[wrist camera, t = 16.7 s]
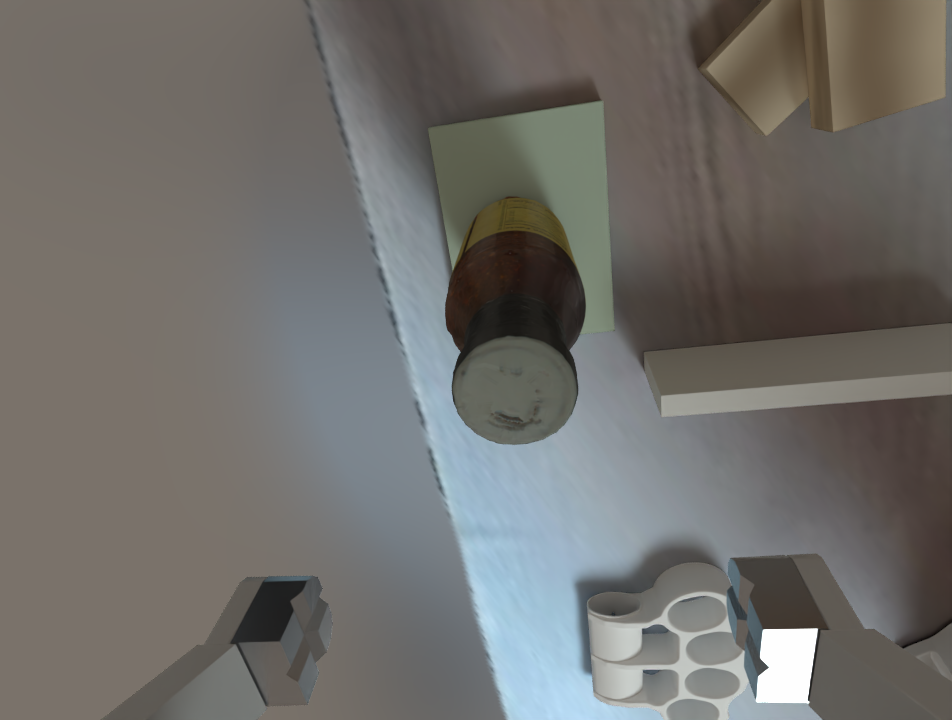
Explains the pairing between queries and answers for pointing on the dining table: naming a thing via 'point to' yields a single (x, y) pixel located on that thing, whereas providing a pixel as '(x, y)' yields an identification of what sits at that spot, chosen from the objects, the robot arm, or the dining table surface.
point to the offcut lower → (762, 65)
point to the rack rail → (802, 371)
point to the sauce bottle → (515, 323)
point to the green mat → (535, 184)
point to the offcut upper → (872, 58)
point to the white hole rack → (668, 646)
